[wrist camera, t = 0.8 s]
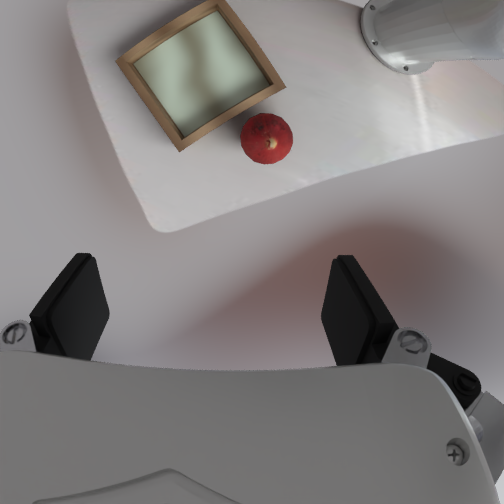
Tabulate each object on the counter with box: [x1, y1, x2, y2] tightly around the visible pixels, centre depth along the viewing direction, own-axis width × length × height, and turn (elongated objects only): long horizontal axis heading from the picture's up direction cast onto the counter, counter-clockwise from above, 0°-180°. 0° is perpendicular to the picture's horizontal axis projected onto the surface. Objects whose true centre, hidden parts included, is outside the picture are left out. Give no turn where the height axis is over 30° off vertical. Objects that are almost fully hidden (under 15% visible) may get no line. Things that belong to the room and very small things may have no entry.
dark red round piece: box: [240, 113, 293, 164], centre depth 31 cm, size 6×6×8 cm
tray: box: [115, 0, 286, 152], centre depth 29 cm, size 14×14×4 cm
